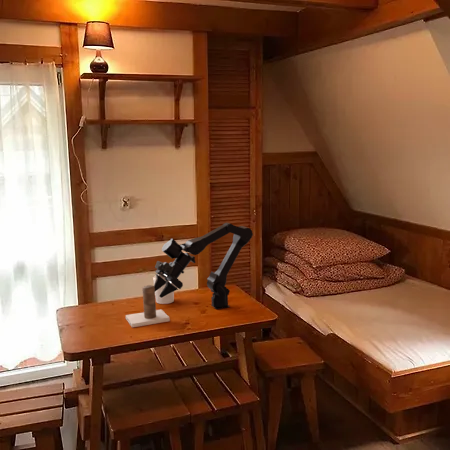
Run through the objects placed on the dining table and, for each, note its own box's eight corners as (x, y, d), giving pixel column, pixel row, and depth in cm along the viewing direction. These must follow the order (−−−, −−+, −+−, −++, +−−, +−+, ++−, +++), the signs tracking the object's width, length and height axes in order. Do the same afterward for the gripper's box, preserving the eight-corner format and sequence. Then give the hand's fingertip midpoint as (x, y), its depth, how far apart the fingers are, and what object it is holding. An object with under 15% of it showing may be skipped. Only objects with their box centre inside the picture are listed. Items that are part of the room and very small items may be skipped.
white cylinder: (157, 298, 257) (156, 273, 254) (177, 298, 255) (176, 273, 253) (152, 304, 247) (150, 279, 245) (172, 304, 246) (171, 279, 244)
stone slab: (161, 312, 235) (161, 309, 235) (169, 320, 224) (169, 317, 224) (125, 318, 229) (125, 315, 229) (132, 327, 218) (131, 323, 218)
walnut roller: (156, 314, 228) (154, 285, 226) (155, 318, 224) (154, 288, 221) (144, 315, 228) (142, 285, 226) (143, 319, 223) (141, 289, 221)
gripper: (158, 250, 233) (135, 278, 231) (173, 258, 217) (150, 288, 214) (176, 264, 238) (154, 292, 235) (192, 273, 222) (169, 304, 219)
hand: (156, 294), depth 226 cm, fingers open, 9 cm apart
